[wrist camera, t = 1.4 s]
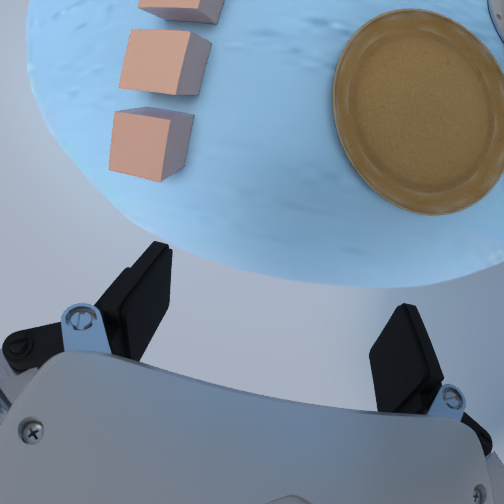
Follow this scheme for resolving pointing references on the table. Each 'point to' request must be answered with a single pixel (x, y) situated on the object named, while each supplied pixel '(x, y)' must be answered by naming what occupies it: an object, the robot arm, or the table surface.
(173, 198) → the table surface
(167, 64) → the toy block
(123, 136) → the salmon orange block
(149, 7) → the peach toy brick
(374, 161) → the plant saucer
